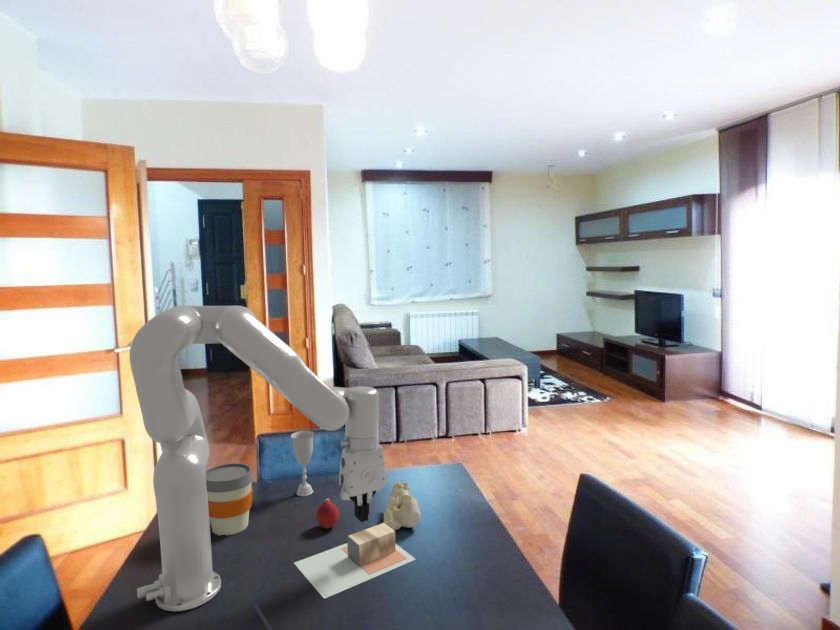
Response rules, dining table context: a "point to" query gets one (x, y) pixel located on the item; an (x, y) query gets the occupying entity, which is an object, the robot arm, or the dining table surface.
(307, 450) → the chalice
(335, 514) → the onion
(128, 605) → the dining table surface
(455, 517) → the dining table surface
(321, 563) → the mat
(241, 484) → the reusable coffee cup
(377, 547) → the maple block
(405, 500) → the beige rock
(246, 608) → the dining table surface
